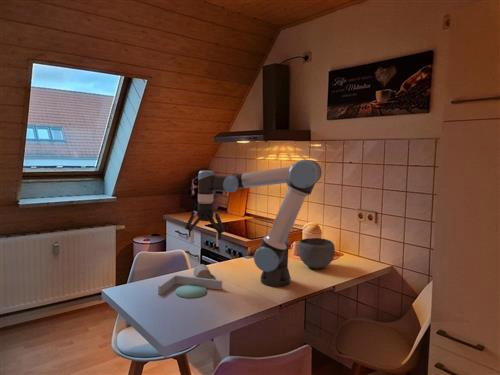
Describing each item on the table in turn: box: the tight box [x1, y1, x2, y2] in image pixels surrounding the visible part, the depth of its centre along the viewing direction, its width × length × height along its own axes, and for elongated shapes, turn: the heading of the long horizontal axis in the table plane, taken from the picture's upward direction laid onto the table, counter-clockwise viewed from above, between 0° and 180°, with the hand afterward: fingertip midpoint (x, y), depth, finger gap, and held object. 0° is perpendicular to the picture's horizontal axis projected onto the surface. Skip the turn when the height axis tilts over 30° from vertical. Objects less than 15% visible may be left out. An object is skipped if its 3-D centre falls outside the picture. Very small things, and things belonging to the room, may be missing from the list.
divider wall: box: [174, 274, 223, 291], centre depth 181 cm, size 24×1×4 cm, turn 75°
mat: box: [175, 285, 207, 299], centre depth 173 cm, size 14×14×1 cm
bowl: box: [297, 237, 336, 270], centre depth 216 cm, size 21×21×15 cm
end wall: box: [157, 274, 177, 296], centre depth 176 cm, size 1×15×4 cm, turn 165°
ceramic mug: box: [193, 263, 217, 280], centre depth 188 cm, size 11×8×8 cm
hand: (204, 244), depth 187 cm, fingers open, 13 cm apart
